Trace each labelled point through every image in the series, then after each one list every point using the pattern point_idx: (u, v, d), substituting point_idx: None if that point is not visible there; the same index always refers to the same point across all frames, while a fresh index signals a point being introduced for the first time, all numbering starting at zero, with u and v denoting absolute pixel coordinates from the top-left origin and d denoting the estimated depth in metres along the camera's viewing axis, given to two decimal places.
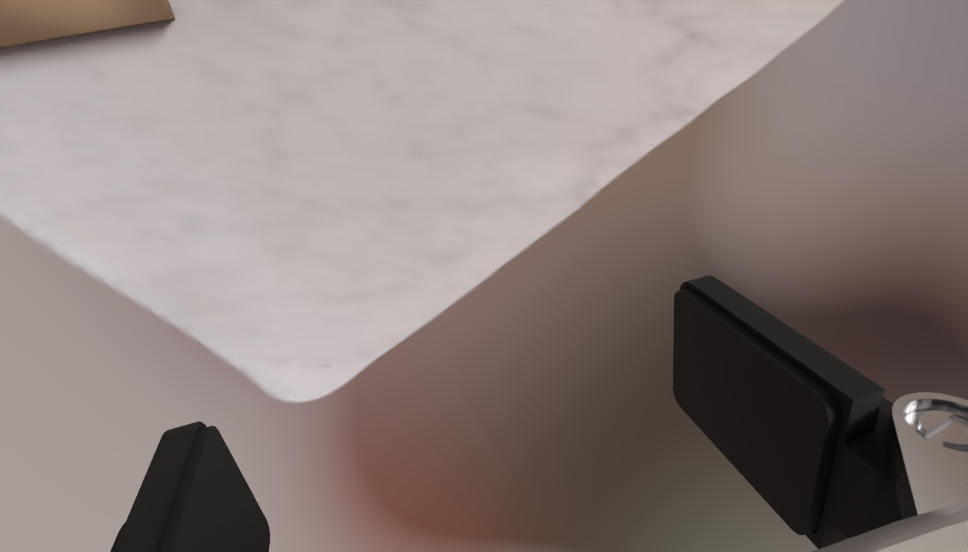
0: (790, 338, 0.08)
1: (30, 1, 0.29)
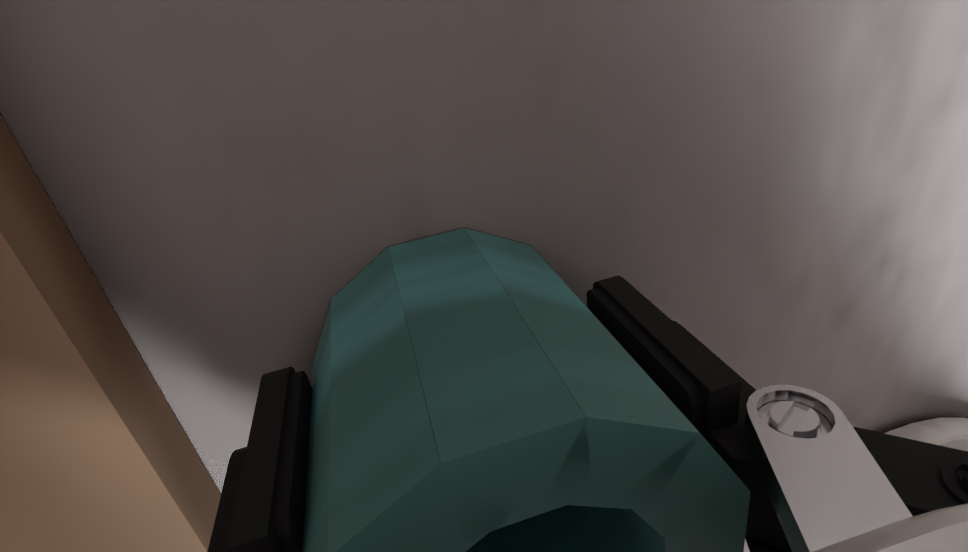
0: (673, 334, 0.09)
1: None
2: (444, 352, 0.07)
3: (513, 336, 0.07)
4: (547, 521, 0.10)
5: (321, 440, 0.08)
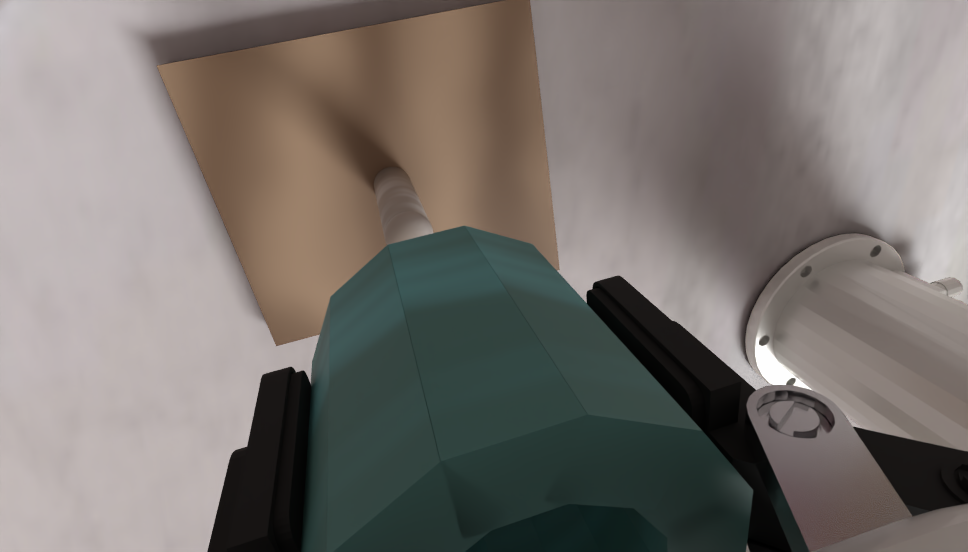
0: (672, 334, 0.09)
1: (269, 224, 0.25)
2: (444, 350, 0.07)
3: (513, 333, 0.07)
4: (548, 520, 0.10)
5: (320, 439, 0.08)
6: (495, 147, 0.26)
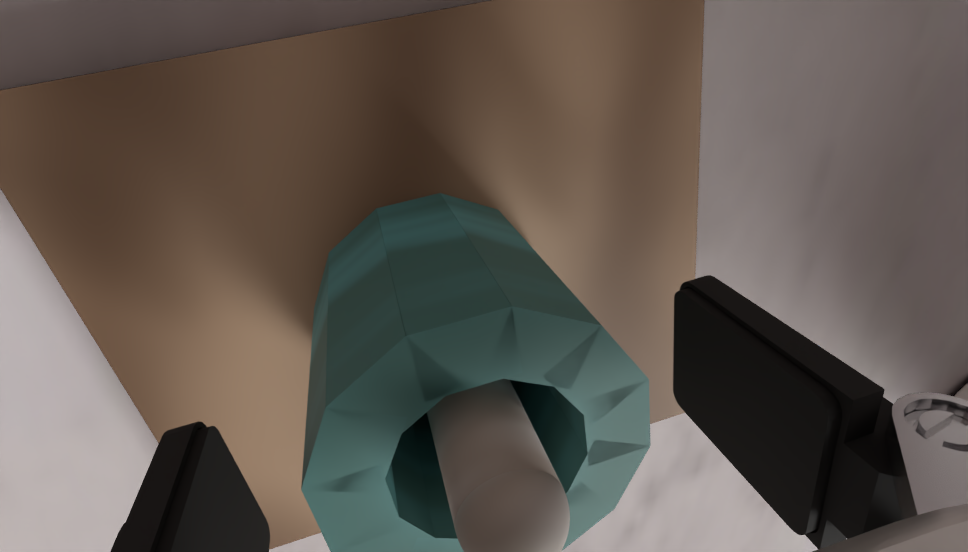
0: (790, 338, 0.08)
1: (211, 382, 0.14)
2: (414, 274, 0.09)
3: (468, 262, 0.09)
4: None
5: (321, 349, 0.10)
6: (614, 234, 0.15)
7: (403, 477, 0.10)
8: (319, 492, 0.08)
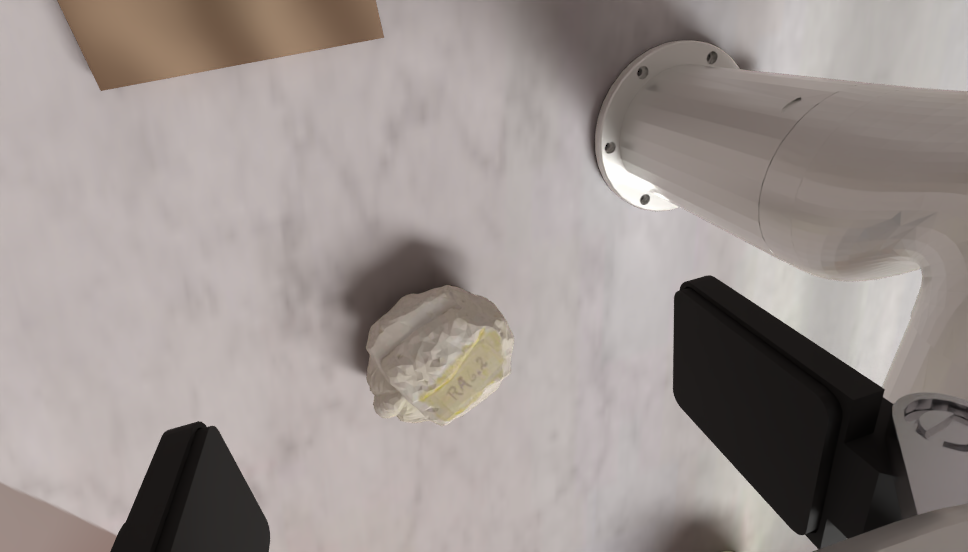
0: (790, 338, 0.08)
1: None
2: None
3: None
4: None
5: None
6: None
7: None
8: None
